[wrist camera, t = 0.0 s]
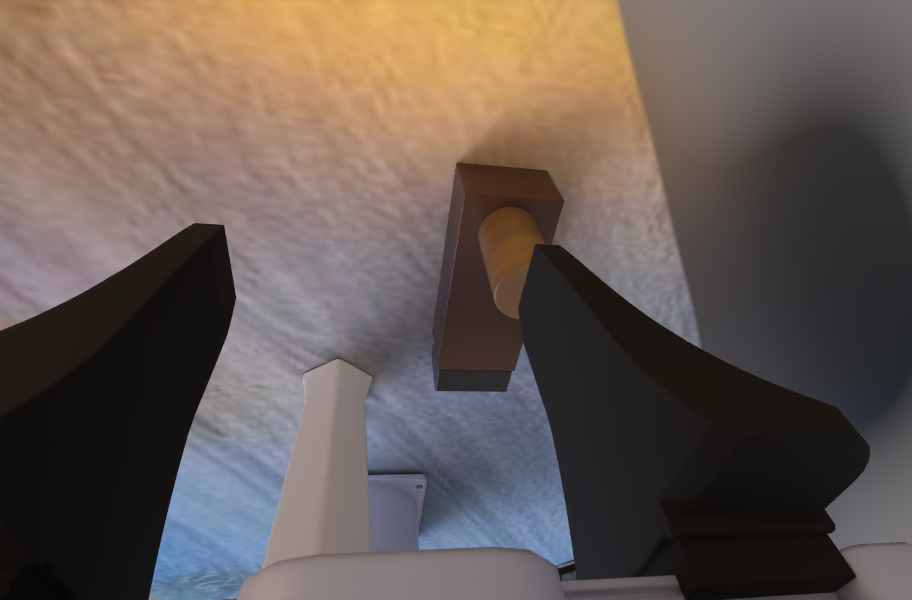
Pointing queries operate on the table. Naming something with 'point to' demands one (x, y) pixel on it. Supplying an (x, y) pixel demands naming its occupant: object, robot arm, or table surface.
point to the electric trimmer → (567, 572)
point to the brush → (488, 272)
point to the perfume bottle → (326, 470)
